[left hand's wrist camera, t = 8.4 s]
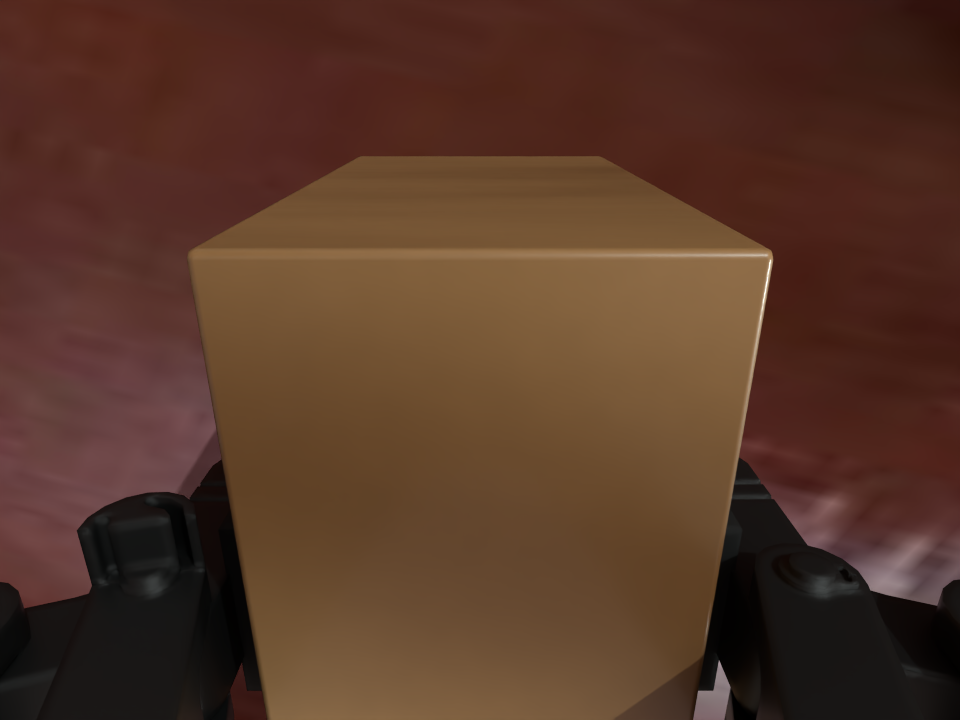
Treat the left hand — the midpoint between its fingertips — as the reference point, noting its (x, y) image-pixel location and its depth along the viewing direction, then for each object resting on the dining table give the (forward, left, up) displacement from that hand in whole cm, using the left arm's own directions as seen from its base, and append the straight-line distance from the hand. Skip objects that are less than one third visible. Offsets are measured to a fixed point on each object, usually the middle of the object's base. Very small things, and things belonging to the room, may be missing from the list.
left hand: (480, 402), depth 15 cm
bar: (+19, -21, -1) cm, 28 cm away
